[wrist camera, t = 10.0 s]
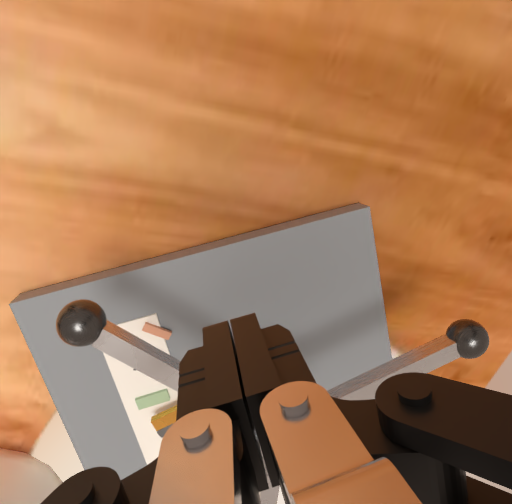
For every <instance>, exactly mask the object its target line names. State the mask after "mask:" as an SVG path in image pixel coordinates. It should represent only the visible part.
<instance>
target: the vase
mask: <svg viewBox="0 0 512 504" xmlns="http://www.w3.org/2000/svg"><path fill="white" fill-rule="evenodd" d="M62 483H63V482H62V481H61V480H60V478H59V477H58V476H57V475H56V473H55V472H54V471H53V470H52V469H51V467H50V466H48V465H46V464H45V463H43V462H41V461H39V460H37V459H36V458H34V457H32V456H30V455H28V454H27V453H25V452H19V451H14V450H8V449H2V448H0V504H40V503H41V502H43V501H44V500H45V499H46V498H47V497H48V496H49V495H50V494H51V493H52V492H53V491H54V490H55V489H56V488H57V487H58V486H59V485H61V484H62Z"/></svg>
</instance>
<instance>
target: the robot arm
mask: <svg viewBox="0 0 512 504" xmlns="http://www.w3.org/2000/svg"><path fill="white" fill-rule="evenodd" d="M230 323H231V327H232V332H233V335H232V332H231V329H230V325H229V322H228V321H224V322H221V323H217V324H214V325H210V326H207V327H203V328H202V332H203V346H201V347H198V348H194V349H191V350H188V351H187V352H186V354H185V355H184V357H183V359H182V360H181V362H180V364H179V381H178V386H179V388H178V398H177V414H176V422H175V423H174V424H173V425H172V426H171V427H170V428H169V429H168V430H167V432H166V433H165V435H164V437H163V439H162V442H161V446H160V451H159V456H158V457H157V458H156V459H155V460H154V461H152V462H151V463H149V464H148V465H146V466H145V467H143V468H141V469H140V470H138V471H136V472H134V473H133V474H131V475H129V476H127V477H126V478H124V479H122V480H120V478H119V476H118V474H117V472H116V471H115V470H113V469H112V468H109V467H93V468H90V469H87V470H84V471H82V472H79V473H77V474H76V475H74V476H72V477H70V478H69V479H67V480H66V481H65V482H63V483H62V484H61V485H59V486H58V487H57V488H56V489H55V490H54V491H53V492H52V493H51V494H50V495H49V496H48V497H47V498H46V499H45V500H44V501H43V502H41V503H40V504H261V501H260V496H259V492H261V491H264V490H267V489H269V485H268V481H267V476H266V472H265V467H264V462H263V458H264V461H265V464H266V468H267V471H268V475H269V478H270V482H271V485H272V488H273V487H276V486H279V485H280V487H281V490H282V494H283V497H284V500H285V504H512V494H510V493H508V492H505V491H503V490H500V489H498V488H495V487H493V486H490V485H488V484H485V483H483V482H481V481H478V480H476V479H473V478H471V477H468V476H466V472H465V471H467V472H469V473H472V474H474V475H477V476H479V477H482V478H484V479H487V480H489V481H492V482H494V483H497V484H499V485H502V486H504V487H507V488H509V489H512V395H508V394H505V393H501V392H497V391H493V390H489V389H485V388H481V387H477V386H473V385H470V384H466V383H462V382H458V381H454V380H450V379H446V378H442V377H438V376H434V375H431V374H426V373H418V372H409V373H402V374H397V375H394V376H392V377H390V378H388V379H386V380H385V381H383V382H382V383H381V384H380V385H379V386H378V388H377V390H376V393H375V399H369V400H343V399H338V398H335V397H332V396H330V395H329V393H328V392H327V391H326V389H325V388H323V387H322V386H320V385H318V384H317V383H316V381H315V379H314V377H313V375H312V373H311V371H310V370H309V368H308V366H307V364H306V362H305V360H304V358H303V356H302V354H301V352H300V350H299V348H298V346H297V344H296V343H295V340H294V338H293V336H292V334H291V332H290V330H288V329H286V328H284V327H282V326H281V325H279V324H276V325H273V326H269V327H266V328H263V329H261V328H260V325H259V323H258V320H257V317H256V314H255V313H252V314H248V315H245V316H241V317H238V318H234V319H231V320H230ZM233 337H234V339H233ZM260 447H261V449H260ZM261 451H262V453H261ZM262 454H263V458H262Z"/></svg>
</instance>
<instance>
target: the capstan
mask: <svg viewBox="0 0 512 504" xmlns="http://www.w3.org/2000/svg"><path fill="white" fill-rule="evenodd" d="M56 330H57V333H58V335H59V337H60V338H61V339H62V340H63V341H64V342H65V343H67V344H68V345H71V346H75V347H84V346H88V345H91V344H92V345H91V346H92V347H94V348H96V349H98V350H100V351H102V352H104V353H106V354H108V355H109V356H111V357H113V358H115V359H117V360H119V361H121V362H123V363H124V364H126V365H128V366H130V367H132V368H134V369H136V370H138V371H139V372H141V373H143V374H145V375H147V376H149V377H151V378H153V379H154V380H156V381H158V382H160V383H162V384H164V385H166V386H168V387H169V388H171V389H173V390H175V391H177V392H178V388H179V386H178V381H179V364H180V362H181V361H180V360H178V359H176V358H174V357H173V356H171V355H169V354H167V353H165V352H164V351H162V350H160V349H158V348H156V347H155V346H153V345H151V344H149V343H148V342H146V341H144V340H142V339H140V338H139V337H137V336H135V335H133V334H131V333H130V332H128V331H126V330H124V329H123V328H121V327H119V326H117V325H115V324H114V323H112V322H110V321H108V320H107V318H106V314H105V312H104V310H103V309H102V307H101V306H100V305H98V304H97V303H95V302H93V301H91V300H85V299H81V300H75V301H72V302H70V303H69V304H67V305H66V306H64V307H63V308H62V310H61V311H60V312H59V314H58V316H57V319H56ZM488 345H489V336H488V333H487V331H486V330H485V328H484V327H483V326H482V325H481V324H479V323H478V322H476V321H473V320H469V319H461V320H457V321H455V322H453V323H452V324H451V325H450V326H449V327H448V329H447V331H446V335H443V336H440V337H438V338H436V339H434V340H432V341H430V342H428V343H426V344H424V345H422V346H419V347H417V348H415V349H413V350H411V351H409V352H407V353H405V354H403V355H401V356H399V357H396V358H394V359H392V360H390V361H388V362H386V363H384V364H382V365H380V366H378V367H375V368H373V369H371V370H369V371H367V372H365V373H363V374H361V375H359V376H357V377H355V378H352V379H350V380H348V381H346V382H344V383H342V384H340V385H338V386H336V387H334V388H331V389H329V390H327V392H328V393H329V395H330V396H332V397H335V398H338V399H343V400H369V399H374V398H375V393H376V390H377V388H378V386H379V385H380V384H381V383H382V382H383V381H385V380H386V379H388V378H390V377H392V376H394V375H397V374H402V373H409V372H418V373H428V372H430V371H432V370H435V369H437V368H439V367H441V366H443V365H445V364H447V363H449V362H451V361H453V360H455V359H457V358H459V357H462V358H467V359H472V358H477V357H479V356H481V355H482V354H484V352H485V351H486V350H487V348H488ZM176 414H177V405H176V406H173V407H171V408H169V409H167V410H165V411H163V412H161V413H159V414H156V415H154V416H152V417H151V423H152V425H153V426H154V428H155V430H156V431H158V430H160V429H162V428H164V427H166V426H169V425H171V424H173V423H175V422H176ZM260 449H261V447H260ZM261 453H262V451H261ZM262 458H263V454H262ZM263 462H264V467H265V472H266V476H267V481H268V485H269V489H267V490H264V491H261V492H259V496H260V501H261V504H277V498H278V492H279V486H280V485H279V486H276V487H273V488H272V485H271V482H270V478H269V475H268V471H267V468H266V464H265V461H264V458H263Z"/></svg>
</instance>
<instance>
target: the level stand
mask: <svg viewBox="0 0 512 504" xmlns="http://www.w3.org/2000/svg"><path fill="white" fill-rule="evenodd" d="M81 299H85V300H91V301H93V302H95V303H97V304H98V305H100V306H101V307H102V309H103V310H104V312H105V314H106V318H107V320H108V321H110V322H112V323H114V324H115V325H117V326H119V327H121V328H123V329H124V330H126V331H128V332H130V333H131V334H133V335H135V336H137V337H139V338H140V339H142V340H144V341H146V342H148V343H149V344H151V345H153V346H155V347H156V348H158V349H160V350H162V351H164V352H165V353H167V354H169V355H171V356H173V357H174V358H176V359H178V360H180V361H181V360H182V359H183V357H184V355H185V354H186V352H187V351H188V350H191V349H194V348H198V347H201V346H203V332H202V328H203V327H207V326H210V325H214V324H217V323H221V322H224V321H228V322H229V325H230V329H231V332H232V327H231V323H230V320H231V319H234V318H238V317H241V316H245V315H248V314H252V313H255V314H256V317H257V320H258V323H259V325H260V328H261V329H263V328H266V327H269V326H273V325H276V324H279V325H281V326H282V327H284V328H286V329H288V330H290V332H291V334H292V336H293V338H294V340H295V343H296V344H297V346H298V348H299V350H300V352H301V354H302V356H303V358H304V360H305V362H306V364H307V366H308V368H309V370H310V371H311V373H312V375H313V377H314V379H315V381H316V383H317V384H318V385H320V386H322V387H323V388H325V389H326V391H327V390H329V389H331V388H334V387H336V386H338V385H340V384H342V383H344V382H346V381H348V380H350V379H352V378H355V377H357V376H359V375H361V374H363V373H365V372H367V371H369V370H371V369H373V368H375V367H378V366H380V365H382V364H384V363H386V362H388V361H390V360H392V355H391V349H390V342H389V335H388V328H387V321H386V315H385V308H384V301H383V294H382V287H381V281H380V274H379V267H378V260H377V253H376V247H375V240H374V233H373V226H372V219H371V213H370V207H369V206H367V205H364V204H361V203H355V204H352V205H348V206H344V207H340V208H337V209H333V210H329V211H326V212H322V213H318V214H314V215H311V216H307V217H303V218H299V219H296V220H292V221H288V222H285V223H281V224H277V225H273V226H270V227H266V228H262V229H259V230H255V231H251V232H247V233H244V234H240V235H236V236H232V237H229V238H225V239H221V240H218V241H214V242H210V243H206V244H203V245H199V246H195V247H191V248H188V249H184V250H180V251H177V252H173V253H169V254H165V255H162V256H158V257H154V258H151V259H147V260H143V261H139V262H136V263H132V264H128V265H124V266H121V267H117V268H113V269H110V270H106V271H102V272H98V273H95V274H91V275H87V276H83V277H80V278H76V279H72V280H69V281H65V282H61V283H57V284H54V285H50V286H46V287H42V288H39V289H35V290H31V291H28V292H24V293H20V294H19V295H18V296H17V297H16V298H15V299H14V300H13V301H12V302H11V303H10V304H9V305H10V307H11V310H12V312H13V314H14V316H15V318H16V321H17V323H18V325H19V327H20V329H21V332H22V334H23V336H24V338H25V340H26V342H27V345H28V347H29V349H30V351H31V353H32V356H33V358H34V360H35V362H36V364H37V367H38V369H39V371H40V373H41V375H42V378H43V380H44V382H45V384H46V386H47V389H48V391H49V393H50V395H51V397H52V400H53V402H54V404H55V406H56V408H57V411H58V413H59V415H60V417H61V419H62V421H63V424H64V426H65V428H66V430H67V432H68V435H69V437H70V439H71V441H72V443H73V446H74V448H75V450H76V452H77V454H78V456H79V459H80V461H81V463H82V465H83V468H84V470H87V469H90V468H93V467H109V468H112V469H113V470H115V471H116V472H117V474H118V476H119V478H120V480H122V479H124V478H126V477H127V476H129V475H131V474H133V473H134V472H136V471H138V470H140V469H141V468H143V467H145V466H146V465H148V464H149V463H151V462H152V461H154V460H155V459H156V458H157V457H158V456H159V451H160V446H161V442H162V439H163V437H164V435H165V433H166V432H167V430H168V429H169V428H170V427H171V426H172V425H173V424H174V423H173V424H171V425H169V426H166V427H164V428H162V429H160V430H158V431H156V430H155V428H154V426H153V425H152V423H151V417H152V416H154V415H156V414H159V413H161V412H163V411H165V410H167V409H169V408H171V407H173V406H176V405H177V398H178V392H177V391H175V390H173V389H171V388H169V387H168V386H166V385H164V384H162V383H160V382H158V381H156V380H154V379H153V378H151V377H149V376H147V375H145V374H143V373H141V372H139V371H138V370H136V369H134V368H132V367H130V366H128V365H126V364H124V363H123V362H121V361H119V360H117V359H115V358H113V357H111V356H109V355H108V354H106V353H104V352H102V351H100V350H98V349H96V348H94V347H92V346H91V345H92V344H91V345H88V346H84V347H75V346H71V345H68V344H67V343H65V342H64V341H63V340H62V339H61V338H60V337H59V335H58V333H57V330H56V319H57V316H58V314H59V312H60V311H61V310H62V308H63V307H64V306H66V305H67V304H69V303H70V302H72V301H75V300H81ZM232 335H233V332H232ZM233 339H234V337H233ZM374 399H375V398H374Z"/></svg>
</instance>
